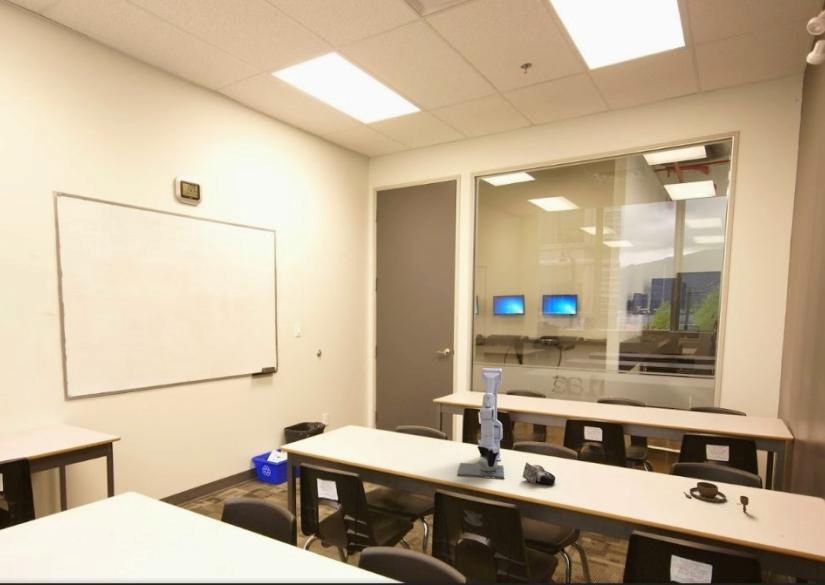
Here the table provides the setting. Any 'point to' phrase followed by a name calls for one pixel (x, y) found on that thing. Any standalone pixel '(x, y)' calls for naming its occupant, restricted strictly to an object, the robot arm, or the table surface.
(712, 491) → the place setting
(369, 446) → the table surface
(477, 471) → the plate
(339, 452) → the table surface
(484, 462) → the collar
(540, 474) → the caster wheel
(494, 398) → the robot arm
